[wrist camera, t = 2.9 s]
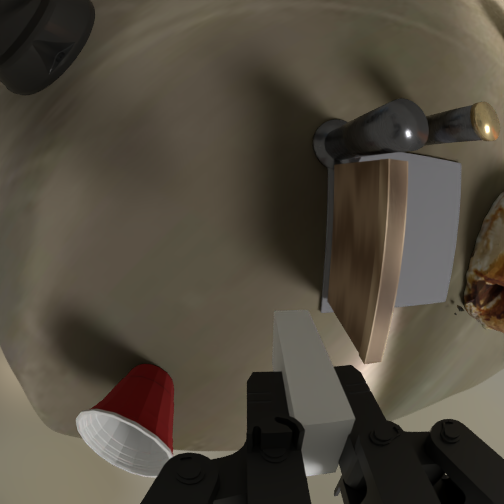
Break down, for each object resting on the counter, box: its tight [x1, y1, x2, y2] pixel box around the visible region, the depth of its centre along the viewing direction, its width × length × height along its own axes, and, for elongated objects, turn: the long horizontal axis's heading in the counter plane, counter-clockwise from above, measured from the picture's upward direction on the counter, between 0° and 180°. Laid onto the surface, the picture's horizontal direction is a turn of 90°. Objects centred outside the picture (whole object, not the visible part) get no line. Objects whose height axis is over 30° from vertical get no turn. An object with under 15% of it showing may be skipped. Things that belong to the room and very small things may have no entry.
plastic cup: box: [76, 364, 174, 477], centre depth 26 cm, size 11×11×12 cm
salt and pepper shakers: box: [313, 99, 500, 169], centre depth 19 cm, size 7×14×13 cm, turn 90°
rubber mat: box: [320, 152, 461, 313], centre depth 27 cm, size 17×17×1 cm
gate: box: [327, 159, 408, 364], centre depth 21 cm, size 14×1×11 cm, turn 0°
